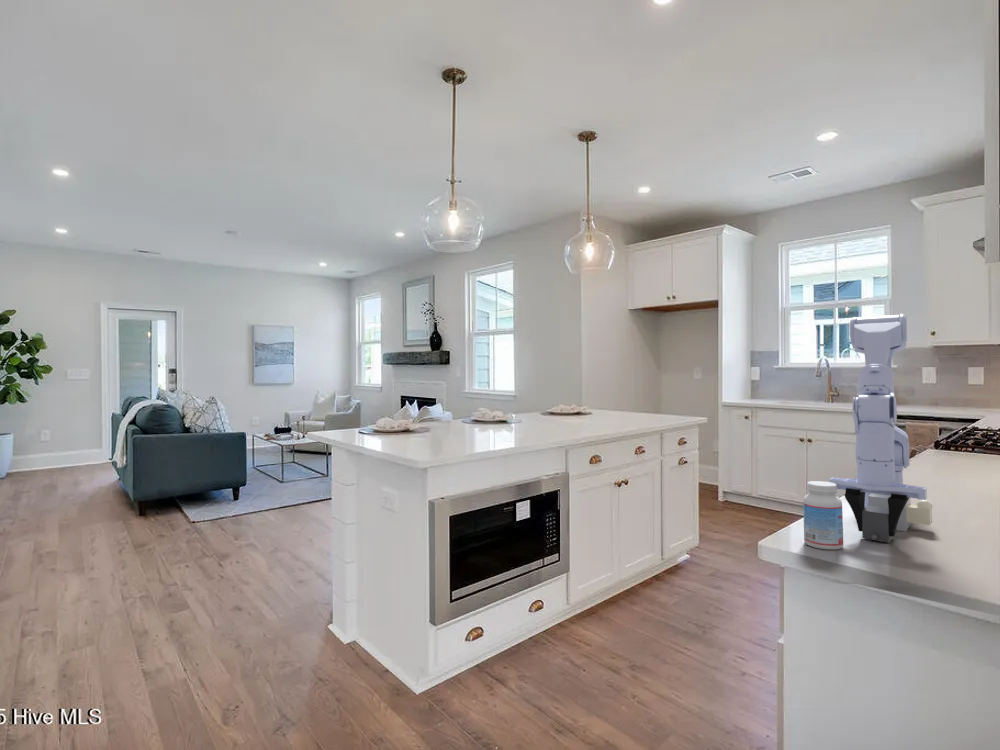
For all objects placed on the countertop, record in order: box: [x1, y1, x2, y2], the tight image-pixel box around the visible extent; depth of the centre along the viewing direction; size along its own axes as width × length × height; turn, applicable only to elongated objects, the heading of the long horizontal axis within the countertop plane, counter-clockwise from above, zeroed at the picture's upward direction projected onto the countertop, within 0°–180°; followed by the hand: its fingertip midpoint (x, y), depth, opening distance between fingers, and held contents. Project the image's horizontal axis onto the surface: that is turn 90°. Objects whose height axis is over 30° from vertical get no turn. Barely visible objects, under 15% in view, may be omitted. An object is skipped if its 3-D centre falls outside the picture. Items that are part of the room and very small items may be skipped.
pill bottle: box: [802, 480, 844, 551], centre depth 96 cm, size 6×6×11 cm
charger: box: [861, 505, 894, 544], centre depth 99 cm, size 9×4×5 cm, turn 135°
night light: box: [907, 499, 933, 526], centre depth 104 cm, size 3×4×4 cm
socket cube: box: [868, 493, 912, 532], centre depth 107 cm, size 6×6×6 cm
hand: (876, 532), depth 98 cm, fingers closed on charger, 4 cm apart
